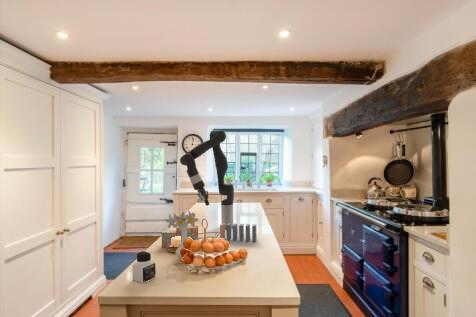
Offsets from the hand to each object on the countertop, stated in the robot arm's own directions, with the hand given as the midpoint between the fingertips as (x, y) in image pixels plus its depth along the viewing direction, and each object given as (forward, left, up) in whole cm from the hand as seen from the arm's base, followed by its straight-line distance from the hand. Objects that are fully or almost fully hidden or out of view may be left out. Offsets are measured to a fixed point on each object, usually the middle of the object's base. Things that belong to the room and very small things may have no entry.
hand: (207, 205), depth 189 cm
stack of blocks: (+22, -8, -22) cm, 32 cm away
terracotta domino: (+1, +11, -22) cm, 24 cm away
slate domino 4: (-3, +32, -22) cm, 38 cm away
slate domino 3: (-1, +23, -22) cm, 32 cm away
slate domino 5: (-2, +28, -22) cm, 35 cm away
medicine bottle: (+67, +3, -22) cm, 70 cm away
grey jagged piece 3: (0, +19, -22) cm, 29 cm away
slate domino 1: (0, +15, -22) cm, 27 cm away
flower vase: (+40, +6, -22) cm, 46 cm away
